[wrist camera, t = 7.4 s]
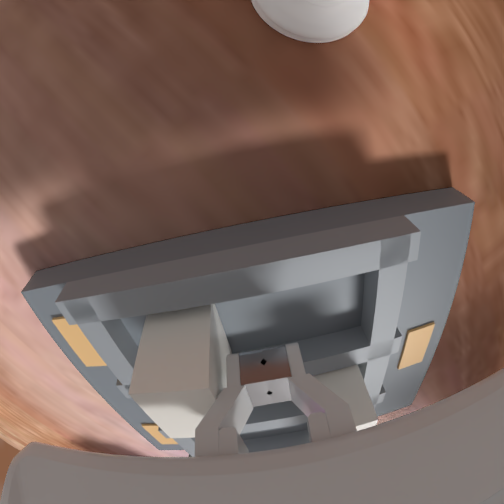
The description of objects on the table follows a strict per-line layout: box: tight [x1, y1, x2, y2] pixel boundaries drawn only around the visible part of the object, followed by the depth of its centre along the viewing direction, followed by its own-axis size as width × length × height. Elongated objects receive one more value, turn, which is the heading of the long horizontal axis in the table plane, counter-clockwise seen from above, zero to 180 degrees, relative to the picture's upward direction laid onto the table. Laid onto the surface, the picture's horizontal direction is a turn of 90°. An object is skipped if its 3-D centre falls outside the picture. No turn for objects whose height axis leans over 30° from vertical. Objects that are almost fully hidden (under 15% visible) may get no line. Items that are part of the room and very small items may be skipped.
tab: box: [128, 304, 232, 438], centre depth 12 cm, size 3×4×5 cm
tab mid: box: [313, 364, 378, 431], centre depth 15 cm, size 3×4×5 cm
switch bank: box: [21, 187, 475, 457], centre depth 18 cm, size 24×20×4 cm
